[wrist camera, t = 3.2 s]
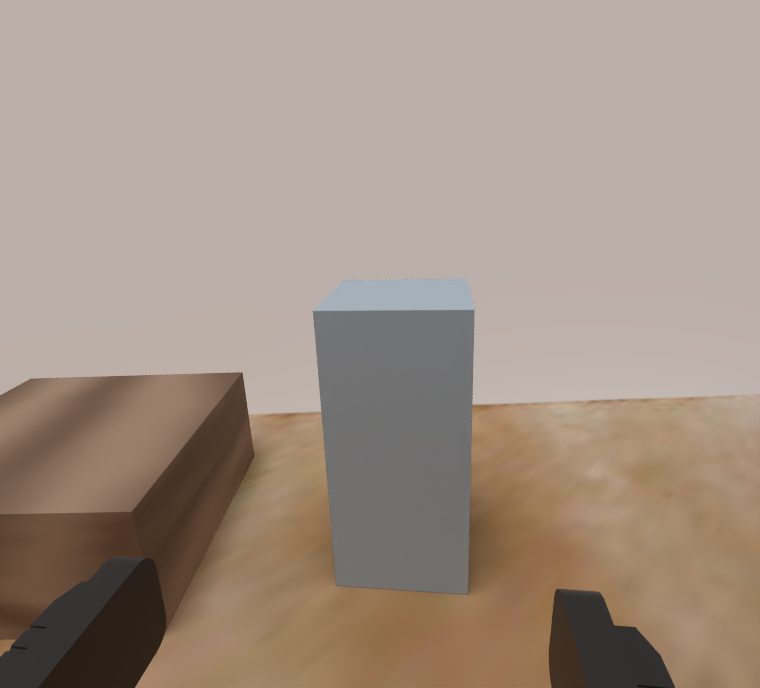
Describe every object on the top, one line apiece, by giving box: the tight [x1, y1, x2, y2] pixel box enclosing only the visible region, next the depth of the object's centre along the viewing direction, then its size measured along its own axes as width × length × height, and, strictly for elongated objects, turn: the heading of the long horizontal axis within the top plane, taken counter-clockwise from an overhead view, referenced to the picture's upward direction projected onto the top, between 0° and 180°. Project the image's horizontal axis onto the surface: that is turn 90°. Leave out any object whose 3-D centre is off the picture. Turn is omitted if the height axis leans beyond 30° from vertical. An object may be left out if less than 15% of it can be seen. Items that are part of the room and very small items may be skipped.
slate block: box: [313, 279, 474, 595], centre depth 21 cm, size 6×6×12 cm
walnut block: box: [0, 372, 254, 639], centre depth 24 cm, size 13×13×6 cm
